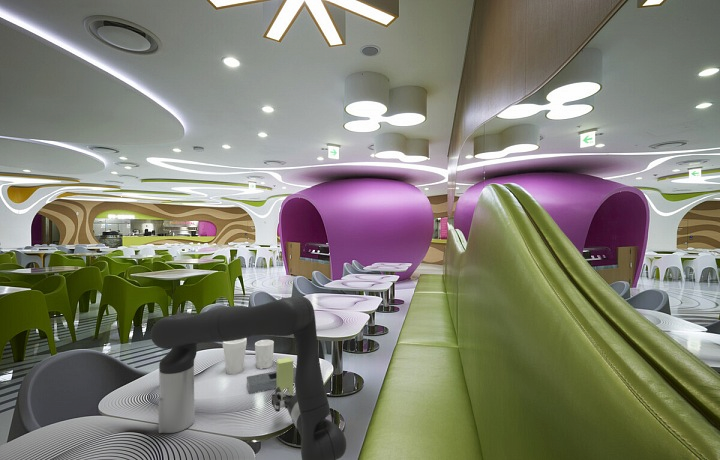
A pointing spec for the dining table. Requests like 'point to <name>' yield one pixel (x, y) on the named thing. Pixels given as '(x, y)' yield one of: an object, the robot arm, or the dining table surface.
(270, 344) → the white cup
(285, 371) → the olive green rectangular block
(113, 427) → the dining table surface
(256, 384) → the grey flat block
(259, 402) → the dining table surface
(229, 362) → the foam cup
